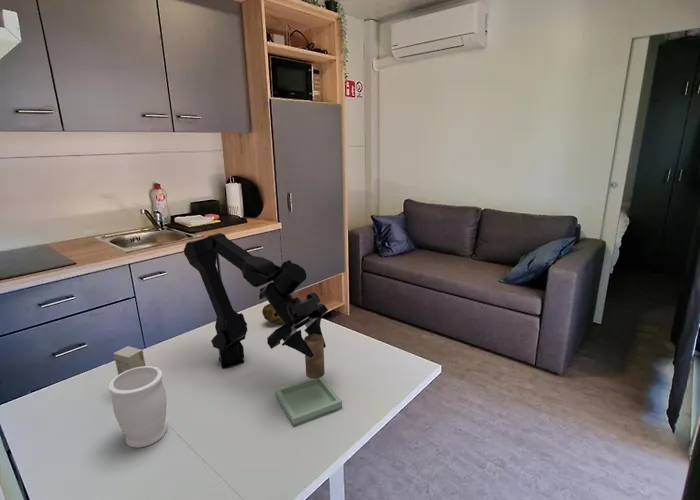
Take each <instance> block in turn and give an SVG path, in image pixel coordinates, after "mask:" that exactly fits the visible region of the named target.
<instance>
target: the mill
mask: <svg viewBox="0 0 700 500" xmlns="http://www.w3.org/2000/svg"><path fill="white" fill-rule="evenodd" d="M323 338H324V335H323V336H321V335H319V334H310V335H308V334H307V335H306V336H305V337H304V338H303V339H304V341H305V342H306V344H307V345H308V347H309V348H310V350H311V351H312V353H313V357H311V358H310V357H308V356H306V355H305V354H304V359H305V360H304V361H305V375H306V377H307V378H308V379H310V378H312V379H317V378H320V377H323V376H325V373H326V372H325V354H324V352H325V350H324V349H325V348H324V344H323Z"/></svg>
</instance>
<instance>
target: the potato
mask: <svg viewBox="0 0 700 500" xmlns="http://www.w3.org/2000/svg"><path fill="white" fill-rule="evenodd" d="M261 313H262V315H263V318H264V319H265V320H266V321H268V322H269V323H277V324H280V325H282V324H283V325H284V323H283V321H282V320H281V319H280V317H279V316H278V317H275V316H274V314H275V313H276V311H275V310H274V309H273V307H272V306H271V304H270V303H268V304H266V305H264V306H263V308H262V312H261Z"/></svg>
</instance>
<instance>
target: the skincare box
mask: <svg viewBox="0 0 700 500" xmlns="http://www.w3.org/2000/svg"><path fill="white" fill-rule="evenodd" d="M113 357H114V362H115V366H116V371H117V375H119V374H121V373H123V372H125V371H127V370H130V369H133V368H136V367H142V366H147V365H146V361H145V356H144V350H143V349H140V348H137V347H134V346H130V345H127V346H125V347H123V348H121V349H119V350H117V351H115V352H113Z"/></svg>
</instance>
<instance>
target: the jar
mask: <svg viewBox="0 0 700 500" xmlns="http://www.w3.org/2000/svg"><path fill="white" fill-rule="evenodd" d="M162 379H163V372H162V369H160V368H159V367H158V366H152V365H146V366H142V367H136V368H133V369H130V370H127V371H125V372H123V373H121V374H119V375H118V374H117V375H116V376H115V377H114V378H112V379H111V380H110V382H109V384H108V388H109V393H111V394H112V398H111V399H112V409H113V410H112V411H113V413H114V417H115V419H116V421H117V423H118V425H119V427H120V428H119V429H121V432H122V434H124V435H125V436H126V437H125V442H126V444H127V445H128V446H129V447H131V448H144V447H148V446H151V445H153V444H155V443H156V442H158V441H159V440H160V439H162V437H164V435H165V434H166V431H167V424H166V418H167V392H166V388H165V385H164V383H163V381H162Z"/></svg>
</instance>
